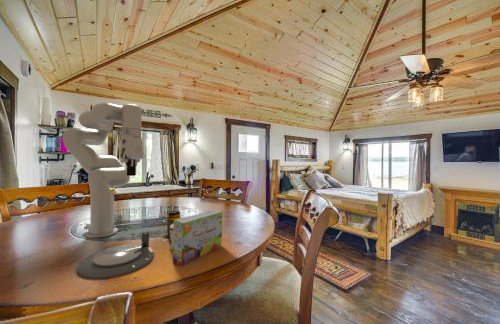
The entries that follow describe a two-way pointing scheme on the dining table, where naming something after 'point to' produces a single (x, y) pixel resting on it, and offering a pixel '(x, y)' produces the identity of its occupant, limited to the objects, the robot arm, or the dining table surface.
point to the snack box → (196, 236)
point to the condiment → (170, 220)
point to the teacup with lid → (171, 236)
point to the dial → (121, 254)
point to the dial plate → (92, 271)
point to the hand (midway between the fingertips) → (131, 175)
